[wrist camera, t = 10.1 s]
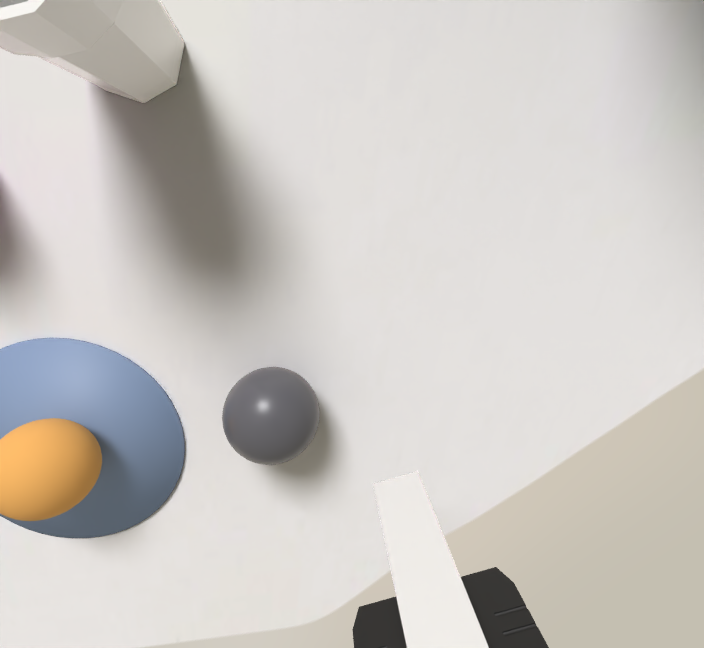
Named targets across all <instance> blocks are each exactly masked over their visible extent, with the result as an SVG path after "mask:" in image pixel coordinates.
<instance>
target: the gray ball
mask: <svg viewBox="0 0 704 648" xmlns="http://www.w3.org/2000/svg"><path fill="white" fill-rule="evenodd" d="M319 415H320V413H319V404H318V400H317V397H316V395H315V392H314V391H313V389H312V387H311V386H310V385H309V383H308V382H307V381H306V380H305V379H304V378H302V377H301V376H300V375H299V374H297V373H295V372H293V371H291V370H288V369H285V368H280V367H267V368H261V369H258V370H255V371H253V372H251V373H249V374H247V375H245V376H244V377H243V378H241V379H240V380H239V381H238V382H237V383H236V384H235V385H234V386H233V388H232V389H231V391H230V392H229V394H228V396H227V398H226V401H225V404H224V408H223V415H222V420H223V428H224V432H225V435H226V437H227V440H228V441H229V443H230V445H231V446H232V447H233V448H234V449H235V451H236V452H237V453H238V454H240V455H241V456H242V457H244V458H246V459H247V460H249V461H252V462H255V463H258V464H265V465H273V464H280V463H283V462H286V461H289V460H291V459H293V458H294V457H296V456H298V455H299V454H300V453H302V452H303V451H304V450H305V449H306V448H307V446H308V445H309V444H310V443H311V441H312V440H313V438H314V436H315V433H316V431H317V428H318V424H319Z"/></svg>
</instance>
